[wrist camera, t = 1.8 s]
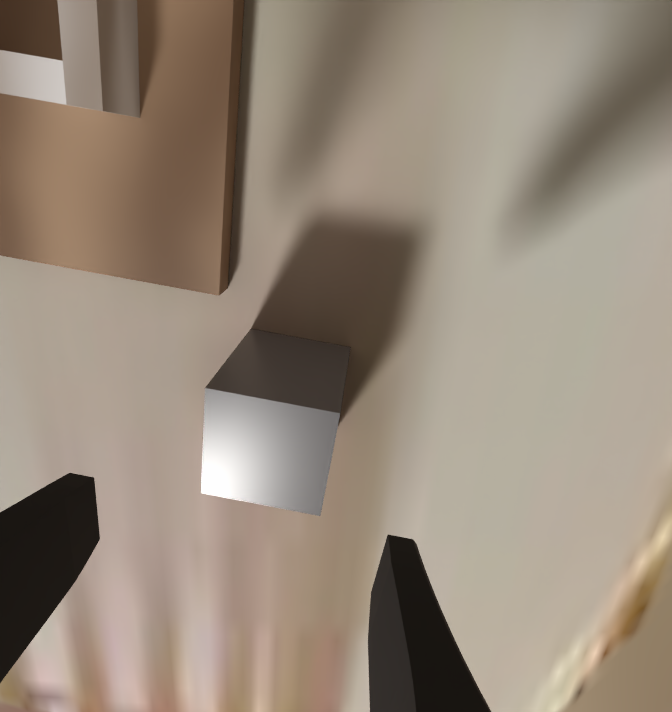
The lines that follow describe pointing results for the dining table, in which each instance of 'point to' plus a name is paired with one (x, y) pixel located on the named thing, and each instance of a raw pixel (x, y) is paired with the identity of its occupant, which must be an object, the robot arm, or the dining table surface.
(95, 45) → the dock
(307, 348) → the grey matte cube
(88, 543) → the robot arm
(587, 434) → the dining table surface
